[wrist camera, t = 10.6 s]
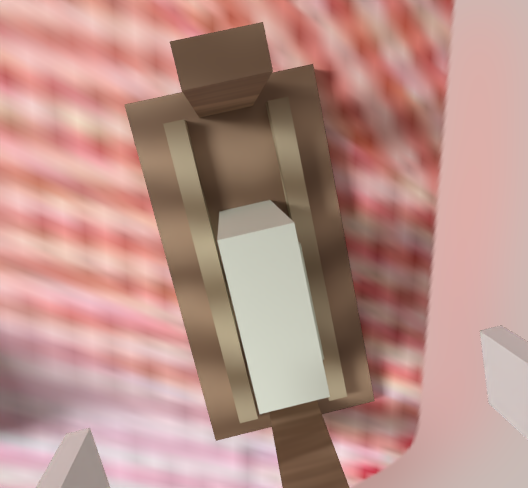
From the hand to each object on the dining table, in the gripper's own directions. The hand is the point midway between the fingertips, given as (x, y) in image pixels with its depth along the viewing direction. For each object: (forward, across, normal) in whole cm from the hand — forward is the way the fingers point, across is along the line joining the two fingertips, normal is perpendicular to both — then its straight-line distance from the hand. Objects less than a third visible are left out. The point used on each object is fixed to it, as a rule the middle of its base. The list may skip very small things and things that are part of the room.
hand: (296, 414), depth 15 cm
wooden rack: (+23, 0, 0) cm, 23 cm away
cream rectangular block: (+21, 0, 0) cm, 21 cm away
